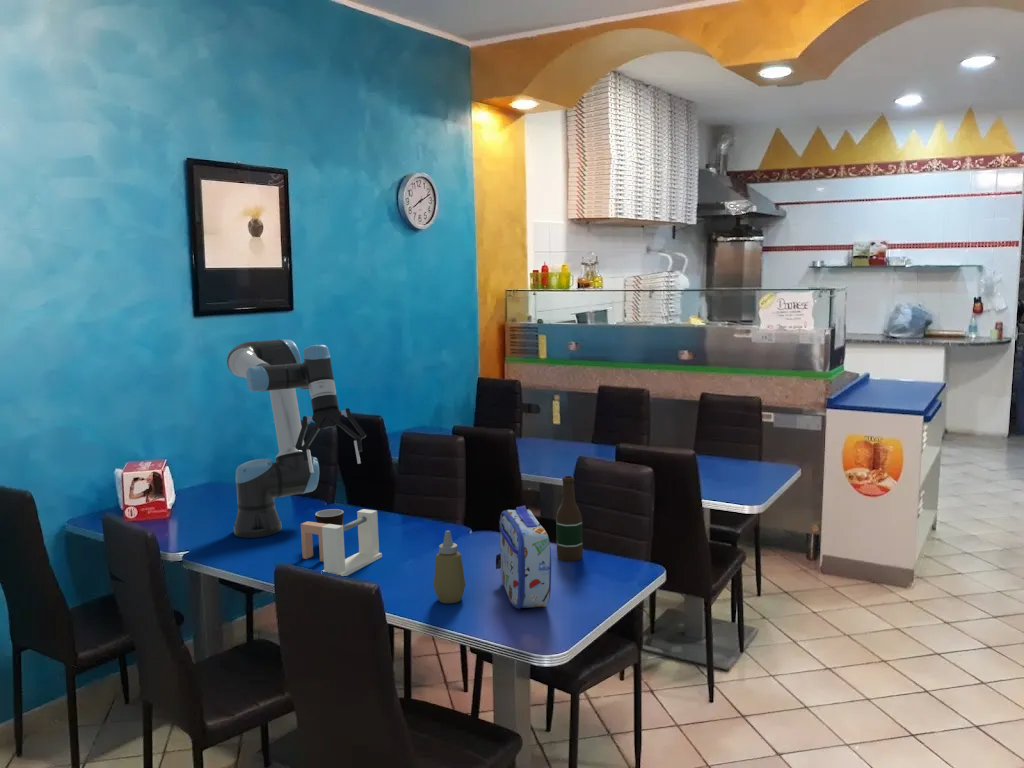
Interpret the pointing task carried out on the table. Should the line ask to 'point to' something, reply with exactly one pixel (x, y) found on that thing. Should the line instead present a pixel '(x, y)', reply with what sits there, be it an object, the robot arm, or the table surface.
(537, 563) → the lunch box
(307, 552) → the arch
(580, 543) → the beer bottle
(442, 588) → the squeeze bottle
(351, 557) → the rod bracket
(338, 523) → the coffee mug
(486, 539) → the table surface
